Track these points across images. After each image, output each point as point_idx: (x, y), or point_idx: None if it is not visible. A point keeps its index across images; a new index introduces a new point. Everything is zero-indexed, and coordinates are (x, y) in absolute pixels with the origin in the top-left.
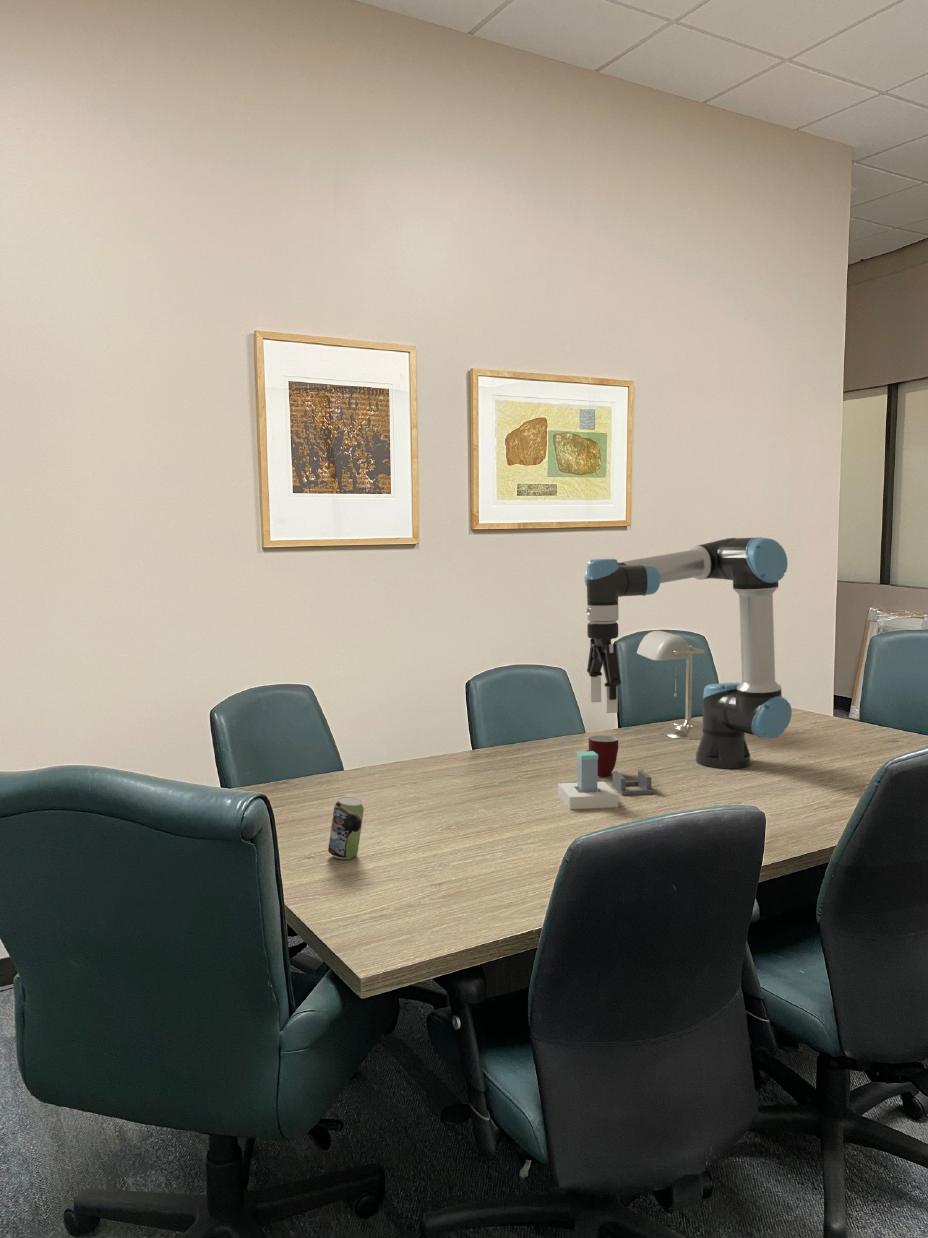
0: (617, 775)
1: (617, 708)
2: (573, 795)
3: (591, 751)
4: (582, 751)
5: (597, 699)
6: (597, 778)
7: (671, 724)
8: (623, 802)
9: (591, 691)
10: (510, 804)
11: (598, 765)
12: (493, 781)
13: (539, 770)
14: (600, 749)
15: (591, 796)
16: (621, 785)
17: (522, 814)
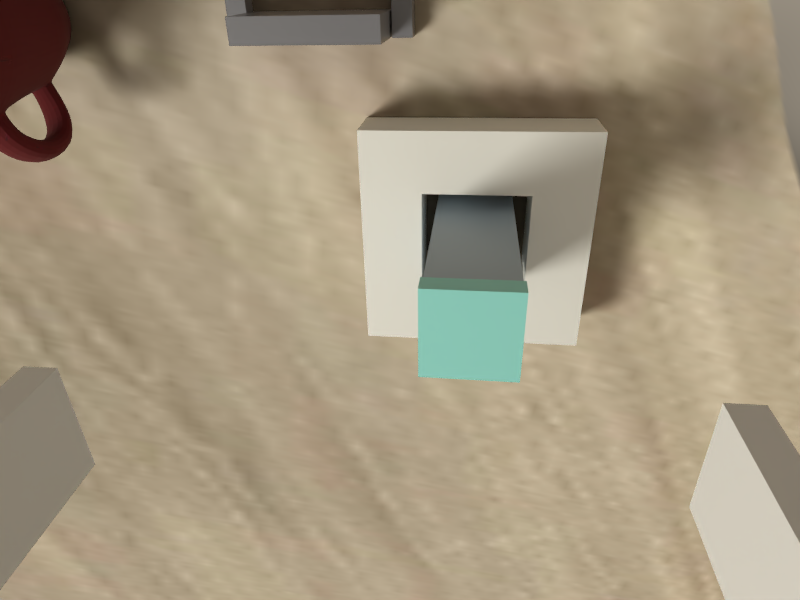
0: (313, 44)
1: (790, 446)
2: (556, 326)
3: (426, 302)
4: (419, 349)
5: (49, 429)
6: (517, 235)
7: None
8: (527, 66)
9: (3, 573)
10: (460, 468)
11: (54, 68)
12: (190, 454)
13: (20, 285)
14: (4, 78)
15: (588, 260)
16: (385, 36)
17: (576, 463)
